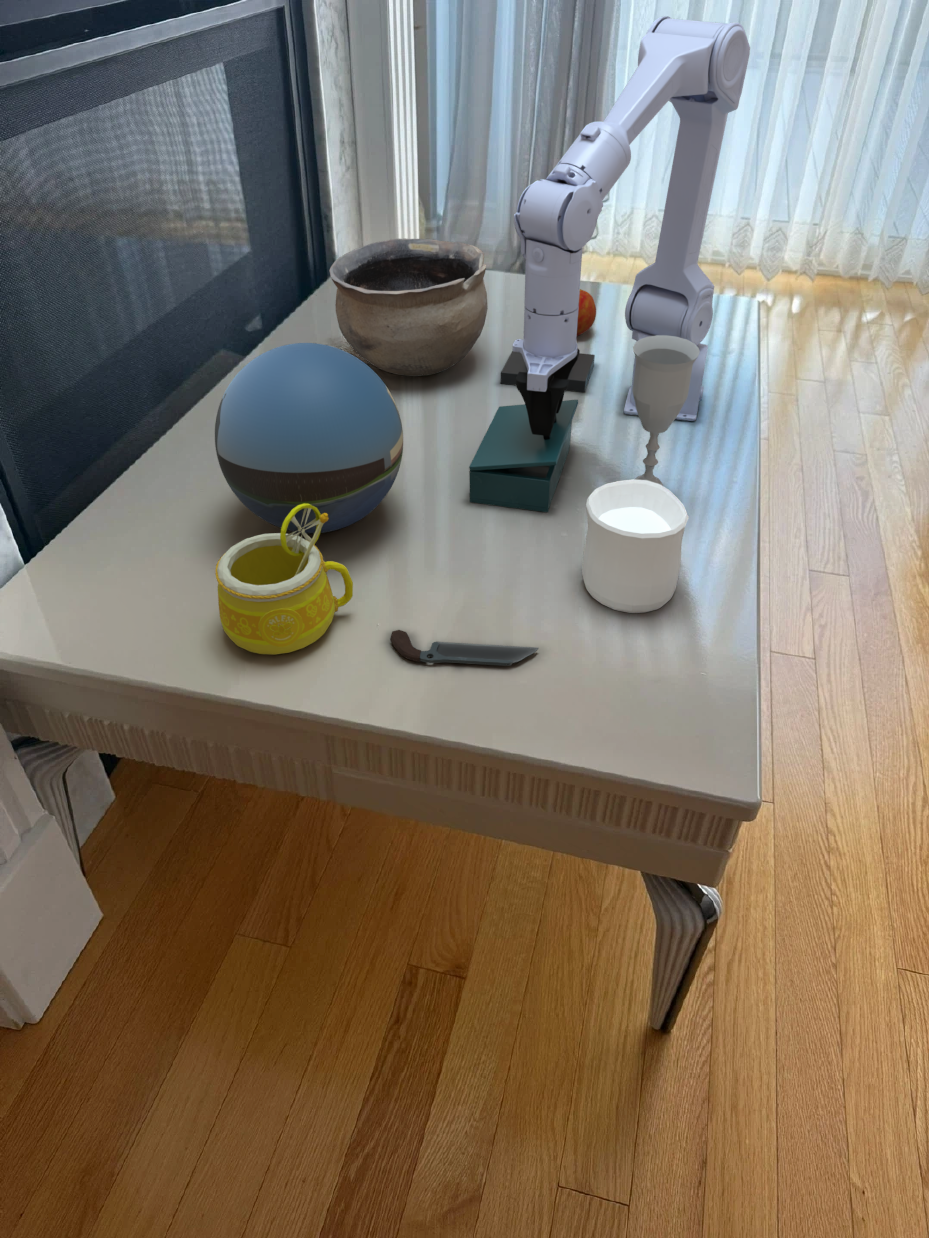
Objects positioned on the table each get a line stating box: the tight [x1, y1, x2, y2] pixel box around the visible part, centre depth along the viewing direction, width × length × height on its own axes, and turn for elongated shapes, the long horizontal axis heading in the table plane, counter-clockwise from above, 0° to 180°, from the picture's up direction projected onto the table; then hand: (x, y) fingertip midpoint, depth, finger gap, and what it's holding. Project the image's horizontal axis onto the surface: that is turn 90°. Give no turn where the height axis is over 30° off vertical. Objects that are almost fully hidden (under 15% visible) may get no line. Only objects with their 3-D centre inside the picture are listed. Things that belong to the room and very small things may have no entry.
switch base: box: [500, 350, 596, 393], centre depth 129 cm, size 12×9×4 cm
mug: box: [214, 503, 354, 655], centre depth 84 cm, size 13×11×12 cm
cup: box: [581, 478, 690, 614], centre depth 89 cm, size 10×10×10 cm
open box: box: [468, 421, 573, 513], centre depth 107 cm, size 9×15×4 cm, turn 165°
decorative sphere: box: [214, 342, 404, 534], centre depth 95 cm, size 20×20×20 cm
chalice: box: [632, 335, 700, 487], centre depth 98 cm, size 7×7×18 cm
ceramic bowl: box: [329, 237, 488, 377], centre depth 128 cm, size 22×22×15 cm
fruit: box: [577, 288, 597, 337], centre depth 138 cm, size 7×7×8 cm
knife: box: [389, 629, 540, 667], centre depth 84 cm, size 14×4×1 cm, turn 84°
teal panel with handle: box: [468, 399, 579, 471], centre depth 104 cm, size 10×15×4 cm, turn 165°
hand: (545, 422), depth 104 cm, fingers closed on teal panel with handle, 5 cm apart
